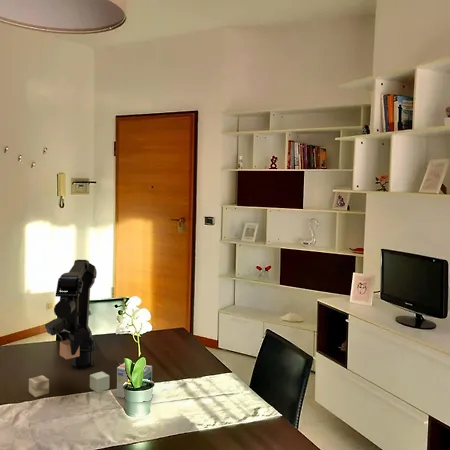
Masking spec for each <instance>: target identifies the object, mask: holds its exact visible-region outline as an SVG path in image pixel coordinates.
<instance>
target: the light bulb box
mask: <svg viewBox="0 0 450 450" xmlns="http://www.w3.org/2000/svg"><path fill="white" fill-rule="evenodd" d="M132 363H133V364H135V363H136V362H132ZM144 365H145V369H144V373H143V379H148V380H150V381H152V382H153V366H152V365H147V364H144ZM125 382H128V377H127V374H126V371H125V362H124V363H122V364H120V365H119V366H117V367H116V398H122V399H125V398H124V392H123V384H124V383H125Z"/></svg>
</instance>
